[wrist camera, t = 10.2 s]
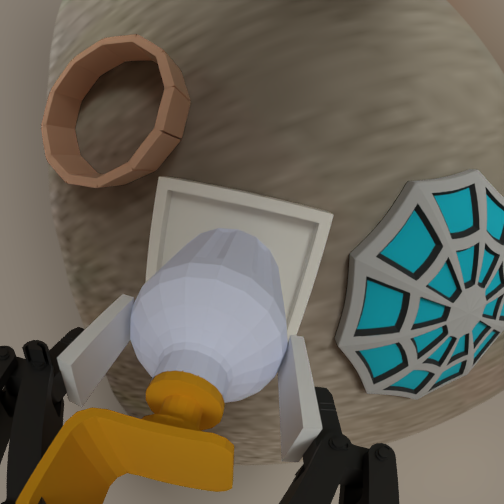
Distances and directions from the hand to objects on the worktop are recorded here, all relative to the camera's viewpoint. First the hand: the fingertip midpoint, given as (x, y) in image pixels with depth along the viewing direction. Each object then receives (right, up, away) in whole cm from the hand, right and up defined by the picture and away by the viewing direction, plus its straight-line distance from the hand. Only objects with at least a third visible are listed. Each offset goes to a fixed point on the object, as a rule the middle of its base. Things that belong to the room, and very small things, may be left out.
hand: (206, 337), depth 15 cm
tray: (+1, +3, +12) cm, 12 cm away
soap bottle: (0, +3, +9) cm, 10 cm away
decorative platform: (+26, -1, +12) cm, 29 cm away
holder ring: (-10, +18, +8) cm, 22 cm away
